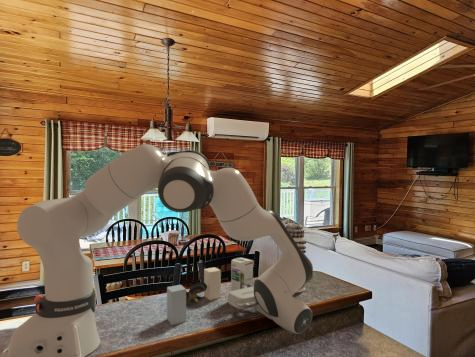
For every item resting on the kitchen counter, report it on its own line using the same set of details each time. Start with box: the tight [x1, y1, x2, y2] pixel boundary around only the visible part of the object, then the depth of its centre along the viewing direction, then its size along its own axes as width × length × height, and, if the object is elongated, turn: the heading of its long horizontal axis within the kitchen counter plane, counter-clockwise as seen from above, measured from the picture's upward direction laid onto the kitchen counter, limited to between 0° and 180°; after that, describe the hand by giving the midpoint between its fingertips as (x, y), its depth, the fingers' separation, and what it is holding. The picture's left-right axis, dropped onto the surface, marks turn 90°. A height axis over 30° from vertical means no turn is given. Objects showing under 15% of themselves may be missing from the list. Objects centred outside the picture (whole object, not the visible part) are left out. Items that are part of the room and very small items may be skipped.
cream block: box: [203, 266, 222, 301], centre depth 117 cm, size 4×4×10 cm
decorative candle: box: [285, 223, 307, 293], centre depth 125 cm, size 9×9×25 cm
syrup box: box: [230, 257, 254, 291], centre depth 114 cm, size 6×6×14 cm
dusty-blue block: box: [166, 284, 187, 326], centre depth 99 cm, size 4×4×10 cm
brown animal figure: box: [186, 281, 207, 307], centre depth 113 cm, size 8×7×9 cm
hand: (246, 286), depth 111 cm, fingers closed
